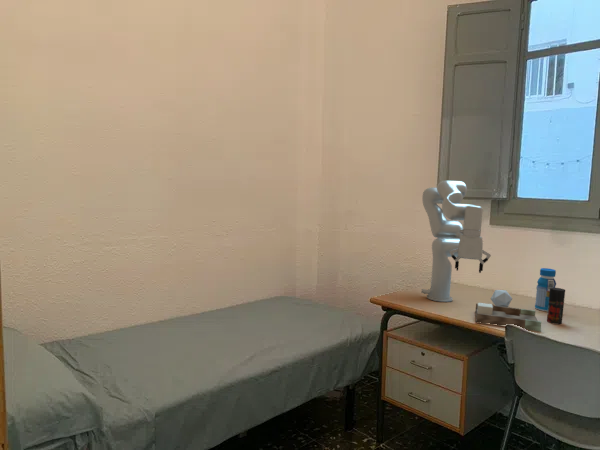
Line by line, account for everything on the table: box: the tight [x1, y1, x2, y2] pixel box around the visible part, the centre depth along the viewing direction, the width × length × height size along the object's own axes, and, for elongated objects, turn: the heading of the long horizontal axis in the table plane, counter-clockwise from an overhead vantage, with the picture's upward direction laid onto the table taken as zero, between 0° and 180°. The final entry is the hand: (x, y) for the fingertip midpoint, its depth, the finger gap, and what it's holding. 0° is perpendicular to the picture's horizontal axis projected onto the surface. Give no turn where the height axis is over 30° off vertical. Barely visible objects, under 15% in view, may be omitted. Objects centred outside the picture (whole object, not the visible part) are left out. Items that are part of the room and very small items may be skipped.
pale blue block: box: [477, 302, 494, 315], centre depth 212 cm, size 6×6×4 cm
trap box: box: [475, 302, 542, 332], centre depth 209 cm, size 25×19×4 cm
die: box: [490, 289, 513, 307], centre depth 233 cm, size 8×9×10 cm
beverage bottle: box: [534, 267, 557, 313], centre depth 231 cm, size 8×8×20 cm
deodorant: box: [546, 287, 566, 325], centre depth 210 cm, size 6×6×15 cm
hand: (468, 271), depth 213 cm, fingers open, 9 cm apart
